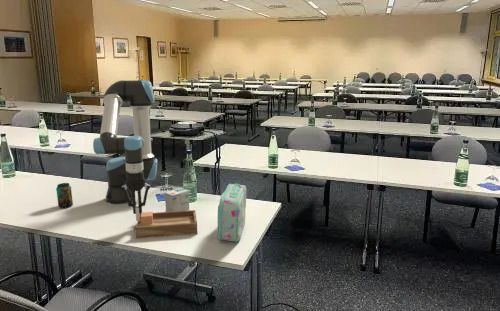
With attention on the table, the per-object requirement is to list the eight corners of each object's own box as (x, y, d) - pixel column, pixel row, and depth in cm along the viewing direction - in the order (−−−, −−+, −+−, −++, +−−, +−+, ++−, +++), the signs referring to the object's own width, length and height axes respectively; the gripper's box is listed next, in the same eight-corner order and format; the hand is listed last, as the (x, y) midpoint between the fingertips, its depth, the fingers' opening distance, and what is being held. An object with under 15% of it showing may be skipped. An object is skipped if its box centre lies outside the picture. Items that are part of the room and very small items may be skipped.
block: (142, 220, 188) (141, 212, 186) (153, 219, 188) (152, 211, 187) (141, 224, 183) (140, 216, 182) (152, 224, 184) (152, 215, 183)
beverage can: (67, 209, 207) (64, 187, 204) (55, 208, 208) (52, 186, 205) (75, 204, 213) (73, 183, 210) (64, 203, 215) (61, 182, 212)
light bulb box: (182, 206, 212) (181, 187, 209) (189, 209, 207) (189, 190, 204) (165, 211, 205) (164, 191, 202) (172, 215, 200) (171, 195, 197)
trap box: (138, 223, 190) (137, 213, 189) (195, 219, 195) (195, 210, 194) (135, 238, 175) (134, 227, 174) (197, 233, 180) (197, 223, 178)
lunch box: (226, 219, 195) (225, 178, 190) (246, 220, 194) (247, 178, 189) (215, 245, 170) (215, 197, 164) (239, 246, 169) (240, 198, 163)
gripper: (118, 174, 174) (122, 224, 180) (149, 172, 176) (152, 222, 182) (120, 169, 181) (124, 217, 187) (150, 168, 183) (153, 215, 189)
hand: (138, 219), depth 184 cm, fingers closed
